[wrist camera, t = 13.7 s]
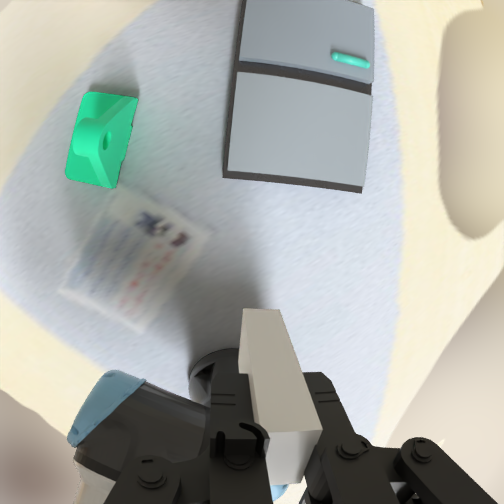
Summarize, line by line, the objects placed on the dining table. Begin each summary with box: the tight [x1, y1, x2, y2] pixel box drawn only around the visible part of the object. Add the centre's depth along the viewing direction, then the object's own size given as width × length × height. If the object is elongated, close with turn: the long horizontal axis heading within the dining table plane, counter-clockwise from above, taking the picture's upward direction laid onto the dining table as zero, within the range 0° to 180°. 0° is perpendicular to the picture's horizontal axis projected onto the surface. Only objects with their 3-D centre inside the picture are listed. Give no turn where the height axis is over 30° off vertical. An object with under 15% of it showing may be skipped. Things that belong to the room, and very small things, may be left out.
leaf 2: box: [227, 72, 373, 187], centre depth 35 cm, size 12×17×2 cm
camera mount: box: [65, 92, 138, 189], centre depth 31 cm, size 12×8×10 cm, turn 164°
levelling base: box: [223, 0, 372, 194], centre depth 35 cm, size 28×18×3 cm, turn 174°
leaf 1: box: [239, 0, 374, 84], centre depth 30 cm, size 12×17×3 cm
